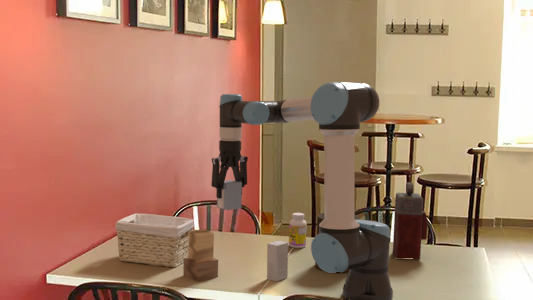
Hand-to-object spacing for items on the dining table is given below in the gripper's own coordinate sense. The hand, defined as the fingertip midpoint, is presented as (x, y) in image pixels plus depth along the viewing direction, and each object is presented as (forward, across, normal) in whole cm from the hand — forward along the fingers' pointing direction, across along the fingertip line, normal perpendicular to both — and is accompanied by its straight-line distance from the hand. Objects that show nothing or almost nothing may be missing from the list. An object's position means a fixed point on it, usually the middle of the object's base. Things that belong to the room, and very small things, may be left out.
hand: (229, 206), depth 231 cm
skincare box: (+21, -5, +21) cm, 30 cm away
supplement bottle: (+21, -38, -7) cm, 44 cm away
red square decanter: (+21, -64, +27) cm, 73 cm away
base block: (+21, +14, +5) cm, 26 cm away
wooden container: (+21, -31, +22) cm, 43 cm away
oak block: (+15, +14, +5) cm, 22 cm away
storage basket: (+21, +18, -20) cm, 34 cm away
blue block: (0, 0, 0) cm, 0 cm away
